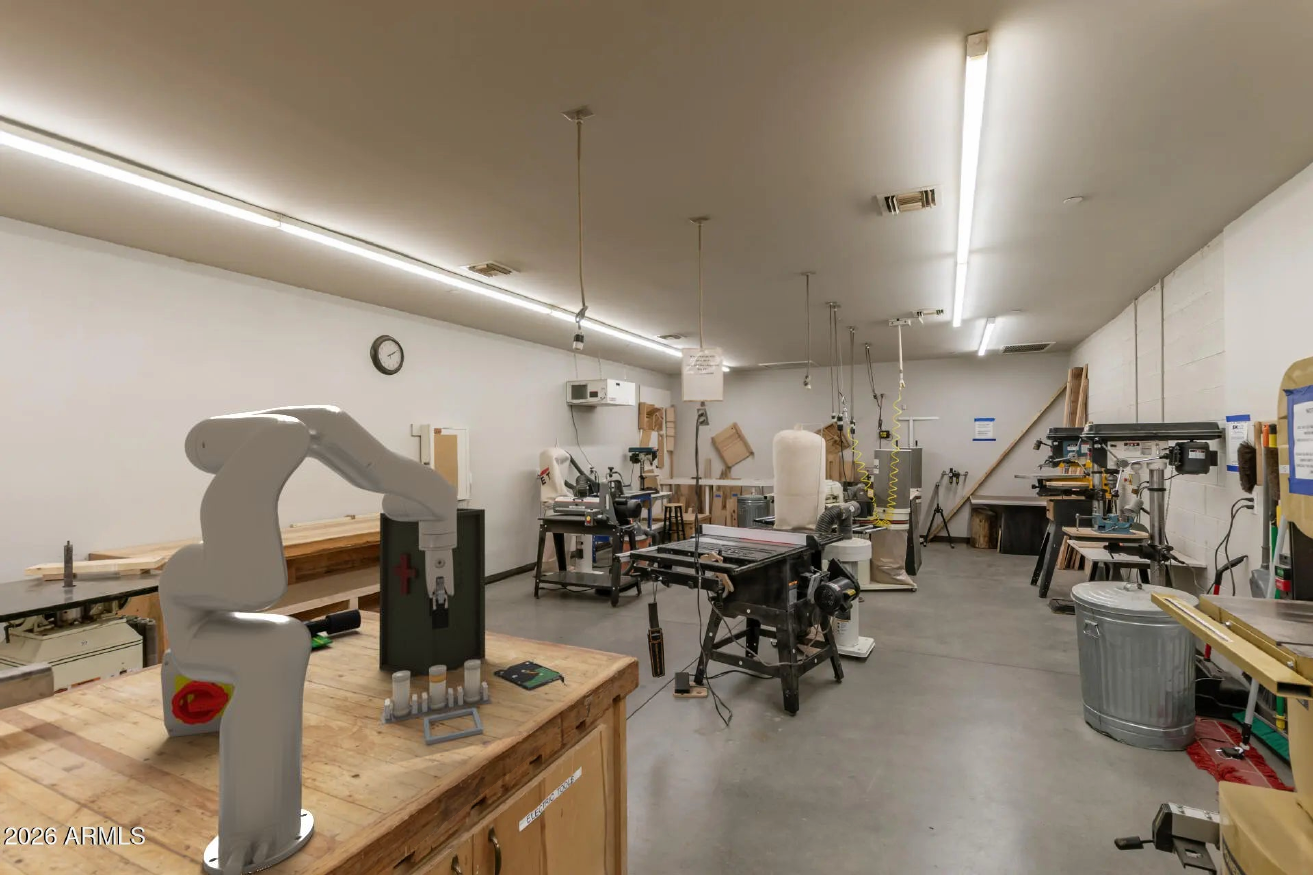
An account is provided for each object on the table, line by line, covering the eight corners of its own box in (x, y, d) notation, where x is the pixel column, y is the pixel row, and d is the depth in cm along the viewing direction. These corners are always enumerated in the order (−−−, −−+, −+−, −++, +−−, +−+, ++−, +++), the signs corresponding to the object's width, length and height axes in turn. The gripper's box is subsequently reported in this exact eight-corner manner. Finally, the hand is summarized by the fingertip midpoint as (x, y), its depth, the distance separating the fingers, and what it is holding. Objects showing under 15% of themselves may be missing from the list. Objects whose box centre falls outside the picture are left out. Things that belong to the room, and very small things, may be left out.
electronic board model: (256, 640, 146) (239, 629, 156) (255, 666, 146) (238, 654, 155) (372, 614, 169) (351, 606, 179) (372, 637, 169) (351, 627, 179)
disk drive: (492, 683, 134) (529, 699, 124) (492, 671, 134) (529, 686, 124) (528, 670, 142) (565, 685, 132) (528, 659, 142) (565, 673, 132)
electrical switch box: (149, 763, 103) (141, 661, 101) (192, 716, 117) (186, 625, 115) (241, 751, 107) (235, 652, 105) (272, 707, 121) (268, 619, 119)
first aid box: (379, 668, 143) (380, 512, 144) (439, 647, 159) (439, 507, 160) (426, 682, 134) (427, 515, 135) (485, 657, 150) (484, 509, 151)
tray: (482, 740, 105) (482, 728, 105) (426, 752, 101) (426, 740, 101) (476, 718, 114) (476, 707, 115) (423, 729, 110) (423, 717, 110)
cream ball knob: (481, 701, 119) (481, 663, 119) (465, 704, 118) (465, 666, 118) (479, 695, 122) (479, 658, 123) (463, 698, 121) (463, 661, 121)
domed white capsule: (410, 714, 113) (410, 675, 113) (391, 718, 112) (392, 678, 112) (410, 708, 116) (410, 669, 117) (392, 711, 115) (392, 672, 115)
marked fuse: (446, 707, 116) (446, 669, 116) (429, 711, 115) (429, 672, 115) (445, 701, 119) (445, 663, 120) (428, 704, 118) (428, 666, 118)
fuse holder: (491, 709, 118) (491, 689, 118) (381, 731, 109) (381, 709, 109) (486, 697, 125) (486, 677, 125) (382, 717, 116) (382, 696, 116)
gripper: (460, 545, 112) (461, 630, 112) (452, 534, 128) (453, 609, 127) (420, 548, 109) (421, 636, 108) (417, 536, 125) (417, 613, 124)
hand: (438, 621), depth 118 cm, fingers open, 9 cm apart
